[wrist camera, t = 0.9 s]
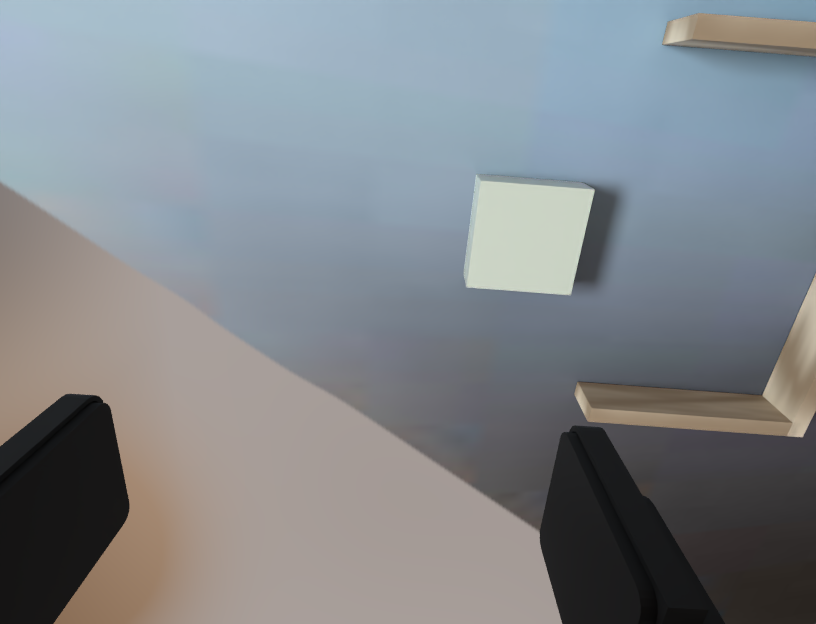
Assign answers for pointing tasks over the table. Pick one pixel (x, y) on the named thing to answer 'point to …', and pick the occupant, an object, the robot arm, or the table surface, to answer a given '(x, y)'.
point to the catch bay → (812, 330)
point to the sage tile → (526, 233)
